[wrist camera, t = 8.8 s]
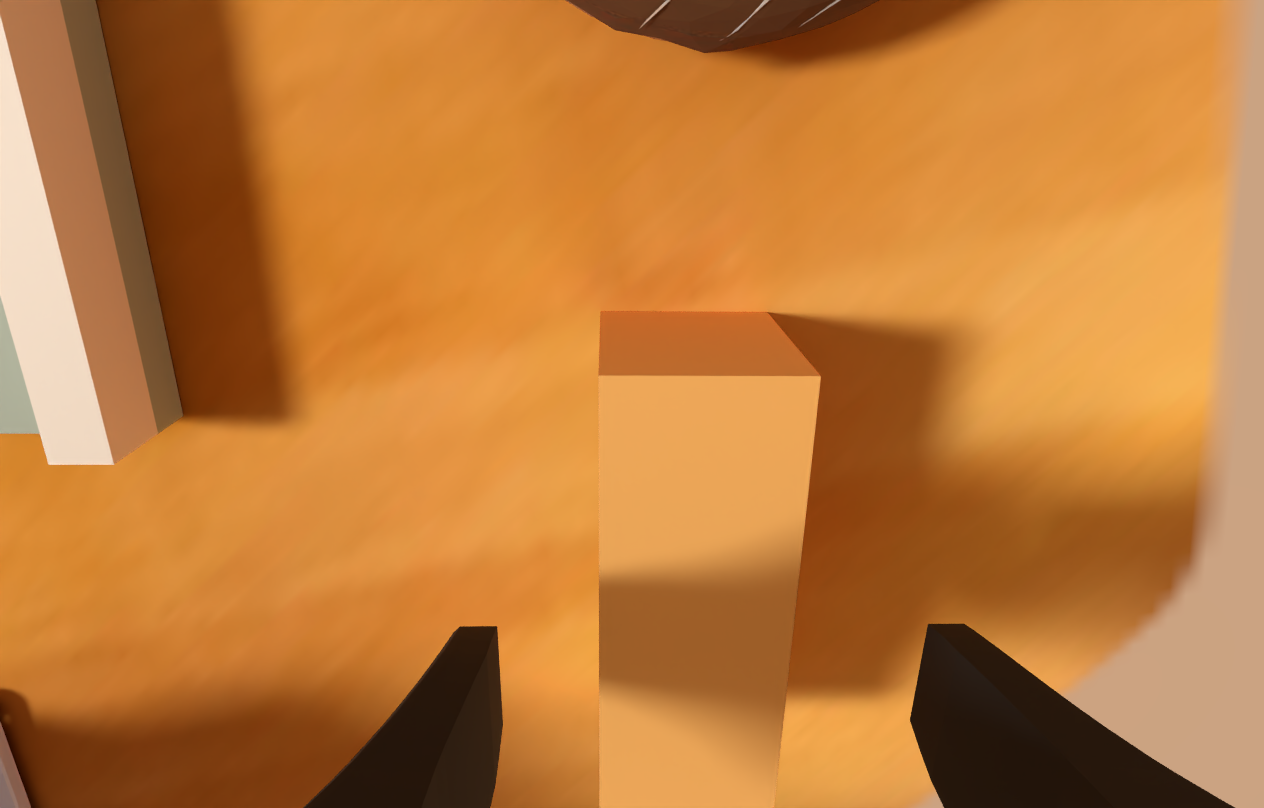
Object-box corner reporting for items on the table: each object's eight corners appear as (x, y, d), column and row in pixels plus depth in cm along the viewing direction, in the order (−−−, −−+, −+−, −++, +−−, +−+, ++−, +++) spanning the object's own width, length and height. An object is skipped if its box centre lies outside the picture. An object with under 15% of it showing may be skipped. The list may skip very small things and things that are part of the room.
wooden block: (736, 679, 20) (771, 828, 16) (601, 680, 20) (599, 831, 16) (765, 310, 16) (820, 376, 12) (600, 309, 16) (598, 375, 12)
